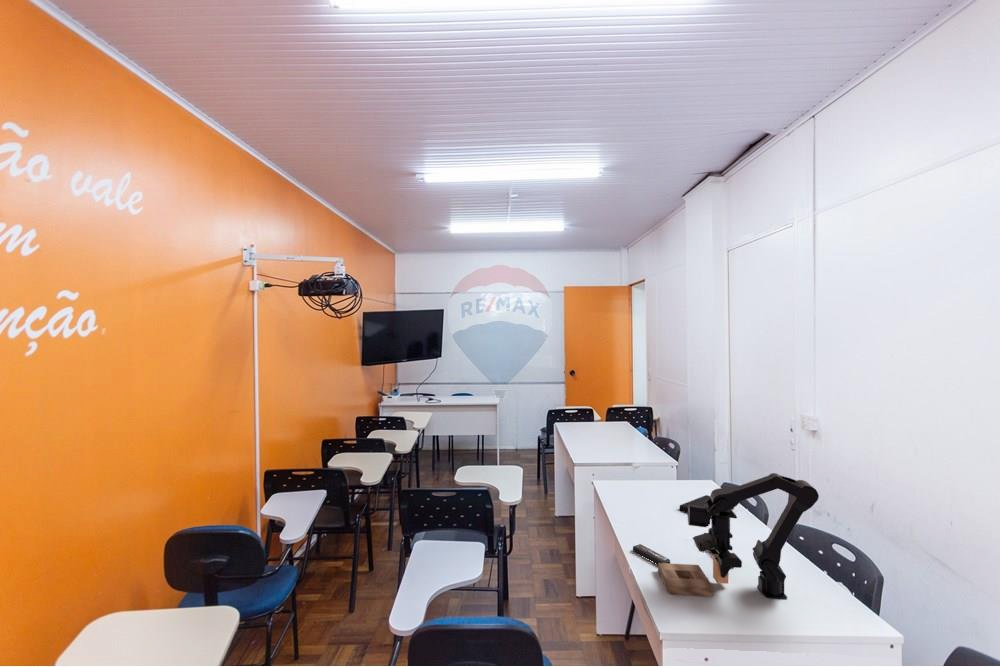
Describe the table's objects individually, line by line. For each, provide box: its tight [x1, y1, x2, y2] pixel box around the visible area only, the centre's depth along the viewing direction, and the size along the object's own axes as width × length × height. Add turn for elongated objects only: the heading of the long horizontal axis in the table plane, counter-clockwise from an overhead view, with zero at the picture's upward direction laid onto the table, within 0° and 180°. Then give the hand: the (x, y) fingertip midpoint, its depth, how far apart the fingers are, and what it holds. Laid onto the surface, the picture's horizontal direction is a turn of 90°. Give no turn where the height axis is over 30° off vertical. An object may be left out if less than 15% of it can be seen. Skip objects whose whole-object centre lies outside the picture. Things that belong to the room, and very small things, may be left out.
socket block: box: [657, 562, 715, 597], centre depth 151 cm, size 14×14×3 cm
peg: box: [712, 554, 729, 585], centre depth 150 cm, size 4×4×8 cm
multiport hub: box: [632, 543, 671, 566], centre depth 168 cm, size 4×14×2 cm, turn 30°
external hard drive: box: [679, 494, 735, 519], centre depth 214 cm, size 14×23×3 cm, turn 125°
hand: (720, 574), depth 150 cm, fingers closed on peg, 4 cm apart
